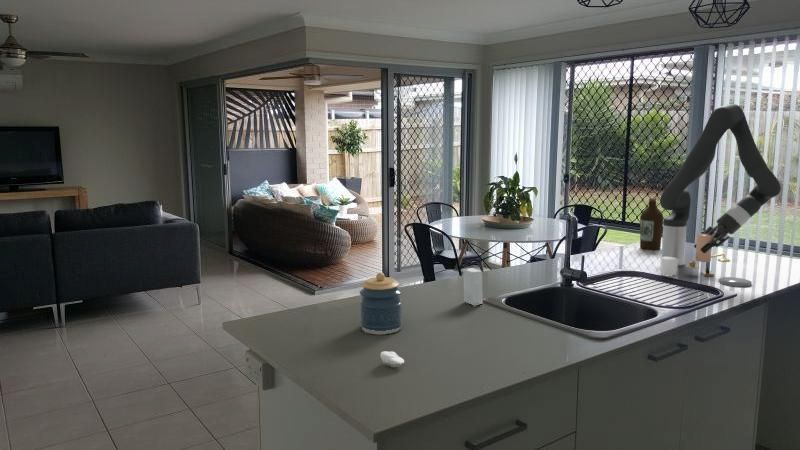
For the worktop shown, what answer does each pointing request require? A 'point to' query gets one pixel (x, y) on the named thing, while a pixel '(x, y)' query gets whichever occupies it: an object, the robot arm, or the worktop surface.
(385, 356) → the dumpling
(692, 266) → the balance
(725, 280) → the dish
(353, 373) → the worktop surface
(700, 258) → the wooden block
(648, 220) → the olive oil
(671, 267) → the shot glass
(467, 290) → the skincare box
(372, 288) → the canister
